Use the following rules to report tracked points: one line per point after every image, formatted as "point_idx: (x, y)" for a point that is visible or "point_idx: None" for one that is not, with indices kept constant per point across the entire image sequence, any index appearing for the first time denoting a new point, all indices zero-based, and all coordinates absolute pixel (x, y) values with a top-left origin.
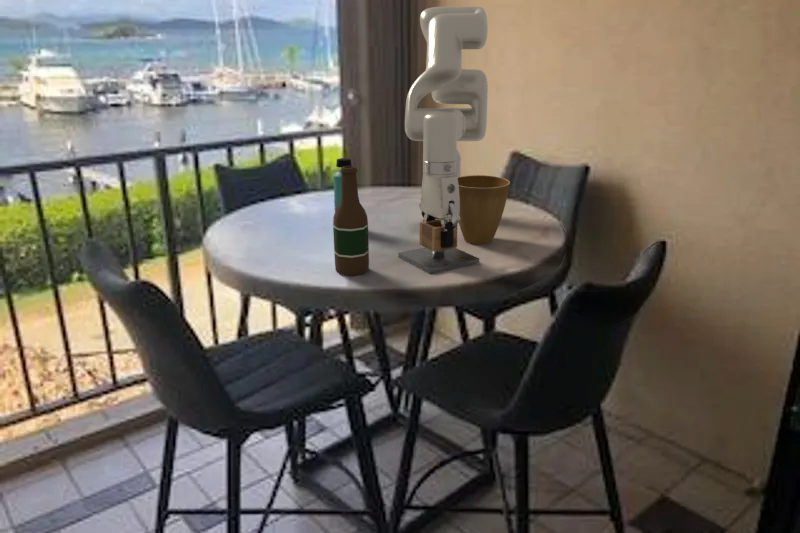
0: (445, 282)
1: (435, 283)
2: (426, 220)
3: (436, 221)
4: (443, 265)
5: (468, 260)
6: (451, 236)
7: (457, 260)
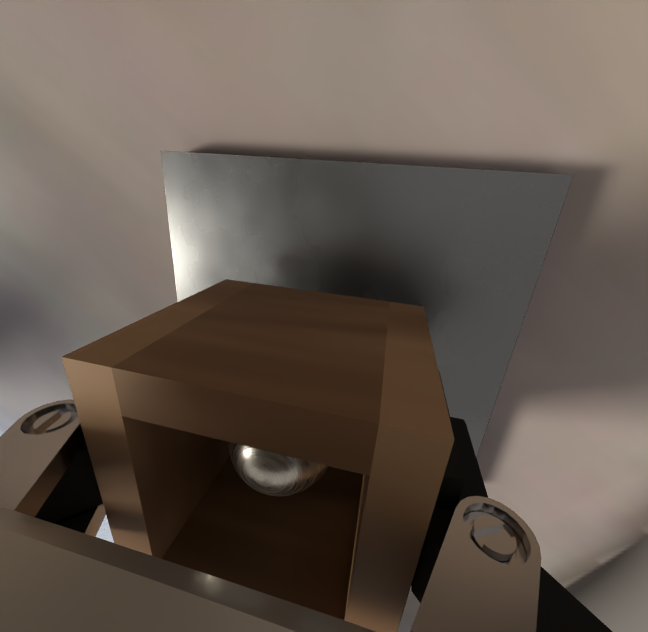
0: (597, 510)
1: (565, 537)
2: (95, 533)
3: (137, 466)
4: (474, 433)
5: (531, 273)
6: (476, 476)
7: (473, 327)
